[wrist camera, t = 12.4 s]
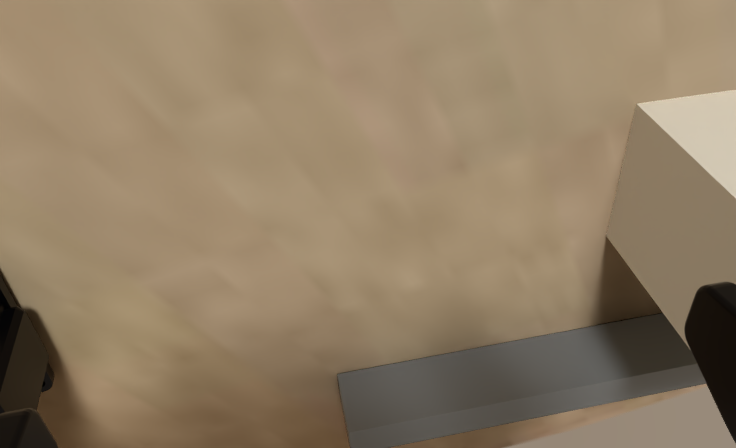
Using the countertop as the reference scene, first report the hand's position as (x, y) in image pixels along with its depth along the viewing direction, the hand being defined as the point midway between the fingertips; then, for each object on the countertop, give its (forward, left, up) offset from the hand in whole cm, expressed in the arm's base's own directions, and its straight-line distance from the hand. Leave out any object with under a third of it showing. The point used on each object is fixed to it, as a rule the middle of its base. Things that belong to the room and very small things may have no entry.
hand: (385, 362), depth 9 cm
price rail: (+11, -17, -13) cm, 24 cm away
